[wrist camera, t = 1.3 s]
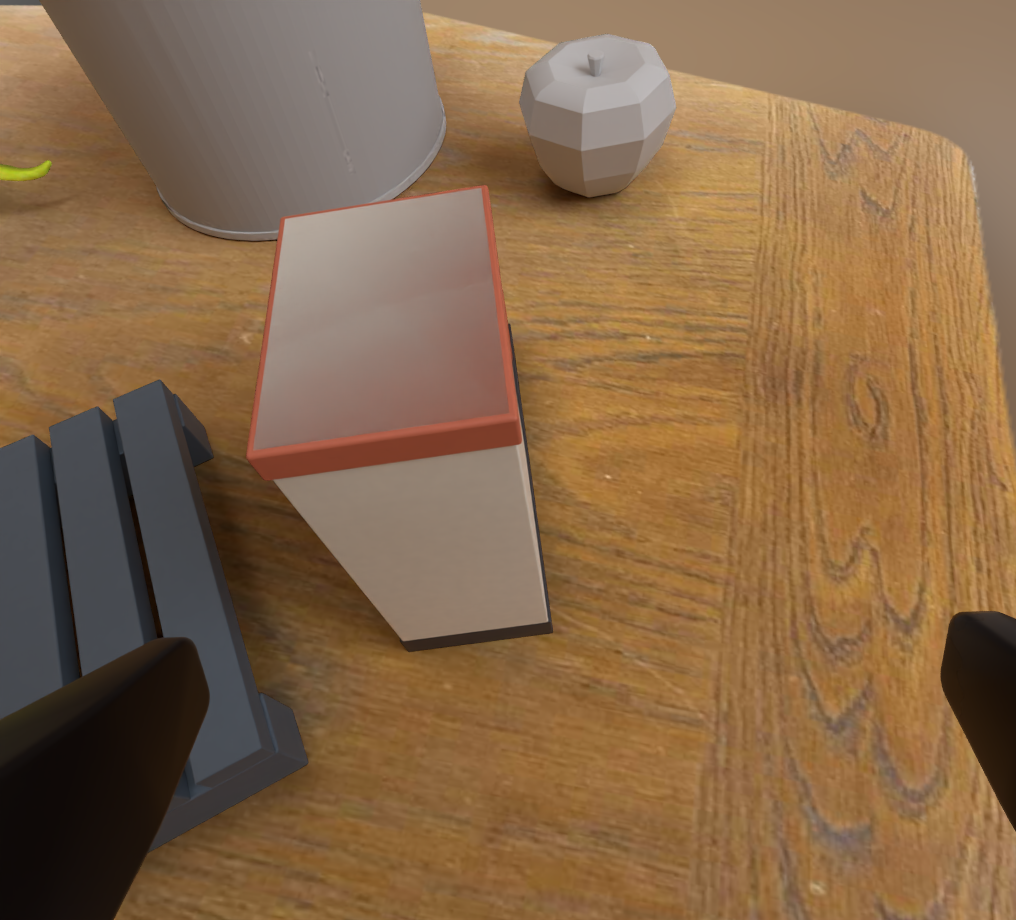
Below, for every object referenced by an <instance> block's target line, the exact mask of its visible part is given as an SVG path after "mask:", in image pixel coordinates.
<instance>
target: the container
mask: <svg viewBox="0 0 1016 920" xmlns="http://www.w3.org/2000/svg"><path fill="white" fill-rule="evenodd" d="M39 1H40V2H41V4H42V6H43V7H44V9H45V10H46V12H47V13H48V15H49V17H50V18H51V20H52V21H53V23H54V25H55V26H56V28H57V29H58V31H59V32H60V34H61V36H62V37H63V39H64V40H65V42H66V44H67V45H68V47H69V48H70V50H71V52H72V53H73V55H74V56H75V58H76V59H77V61H78V63H79V64H80V66H81V67H82V69H83V71H84V72H85V74H86V75H87V77H88V78H89V80H90V82H91V83H92V85H93V86H94V88H95V90H96V91H97V93H98V94H99V96H100V97H101V99H102V101H103V102H104V104H105V105H106V107H107V109H108V110H109V112H110V113H111V115H112V116H113V118H114V120H115V121H116V123H117V124H118V126H119V128H120V129H121V131H122V132H123V134H124V135H125V137H126V139H127V140H128V142H129V143H130V145H131V147H132V148H133V150H134V151H135V153H136V155H137V156H138V158H139V159H140V161H141V162H142V164H143V166H144V167H145V169H146V170H147V172H148V174H149V175H150V177H151V178H152V180H153V181H154V183H155V185H156V188H157V191H158V193H159V195H160V198H161V199H162V201H163V203H164V204H165V206H166V207H167V209H168V210H169V211H170V213H171V214H172V215H173V216H174V217H176V218H177V219H178V220H179V221H180V222H182V223H183V224H185V225H187V226H188V227H190V228H192V229H194V230H197V231H199V232H202V233H205V234H209V235H212V236H216V237H221V238H226V239H235V240H250V241H259V240H275V239H277V238H278V231H279V225H280V219H281V218H282V217H285V216H291V215H298V214H304V213H310V212H317V211H323V210H329V209H336V208H342V207H348V206H355V205H361V204H367V203H374V202H380V201H386V200H391V199H393V198H394V197H396V196H397V195H399V194H400V193H402V192H403V191H404V190H405V189H407V188H408V187H409V186H410V185H411V184H413V183H414V182H415V181H416V180H417V179H418V178H419V177H420V176H421V175H422V174H423V173H424V172H425V170H426V169H427V168H428V167H429V165H430V164H431V163H432V161H433V160H434V159H435V157H436V155H437V153H438V151H439V150H440V148H441V145H442V142H443V139H444V136H445V131H446V117H445V111H444V106H443V104H442V101H441V98H440V96H439V95H438V90H437V85H436V80H435V74H434V69H433V64H432V59H431V54H430V49H429V44H428V39H427V34H426V29H425V23H424V18H423V13H422V8H421V3H420V0H39Z"/></svg>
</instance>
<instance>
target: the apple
mask: <svg viewBox="0 0 1016 920" xmlns="http://www.w3.org/2000/svg"><path fill="white" fill-rule="evenodd" d="M519 104H520V107H521V110H522V113H523V117H524V120H525V123H526V126H527V130H528V133H529V136H530V139H531V142H532V144H533V147H534V150H535V153H536V155H537V158H538V161H539V164H540V167H541V168H542V169H543V170H544V172H545V173H546V174H547V175H548V176H549V178H550V179H551V180H552V181H553V183H554V184H556V185H557V186H559V187H561V188H563V189H565V190H568V191H571V192H574V193H577V194H580V195H583V196H586V197H595V196H601V195H606V194H612V193H617V192H619V191H621V190H623V189H624V188H626V187H627V186H628V185H629V184H630V183H631V182H632V181H633V180H634V179H635V178H636V177H637V176H638V175H639V174H640V173H641V172H642V171H643V170H644V169H645V167H646V166H647V165H648V163H649V162H650V161H651V159H652V158H653V157H654V156H655V154H656V153H657V152H658V150H659V149H660V148H661V146H662V145H663V142H664V139H665V137H666V134H667V131H668V128H669V126H670V123H671V120H672V118H673V115H674V112H675V109H676V104H675V99H674V94H673V89H672V84H671V79H670V75H669V73H668V71H667V69H666V68H665V66H664V64H663V62H662V61H661V59H660V57H659V55H658V54H657V52H656V50H655V48H654V47H653V46H652V45H650V44H648V43H644V42H640V41H636V40H631V39H627V38H622V37H618V36H614V35H610V34H603V35H598V36H593V37H587V38H582V39H577V40H571V41H566V42H561V43H559V44H558V45H556V46H555V47H554V48H553V49H552V50H550V51H549V52H548V53H547V54H546V55H544V56H543V57H542V58H541V59H540V60H538V61H537V62H536V63H535V64H534V65H533V66H531V67H530V68H529V69H528V70H527V71H526V73H525V77H524V82H523V87H522V92H521V96H520V101H519Z"/></svg>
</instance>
